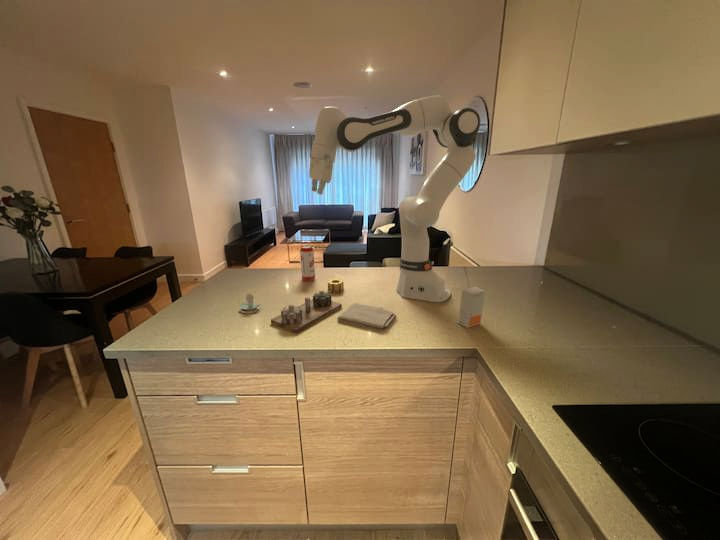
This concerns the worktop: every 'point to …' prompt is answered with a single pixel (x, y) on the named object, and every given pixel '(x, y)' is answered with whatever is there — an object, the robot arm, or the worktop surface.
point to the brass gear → (335, 286)
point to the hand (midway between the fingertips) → (316, 192)
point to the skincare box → (471, 307)
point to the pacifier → (249, 305)
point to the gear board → (306, 312)
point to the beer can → (307, 263)
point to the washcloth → (368, 317)
